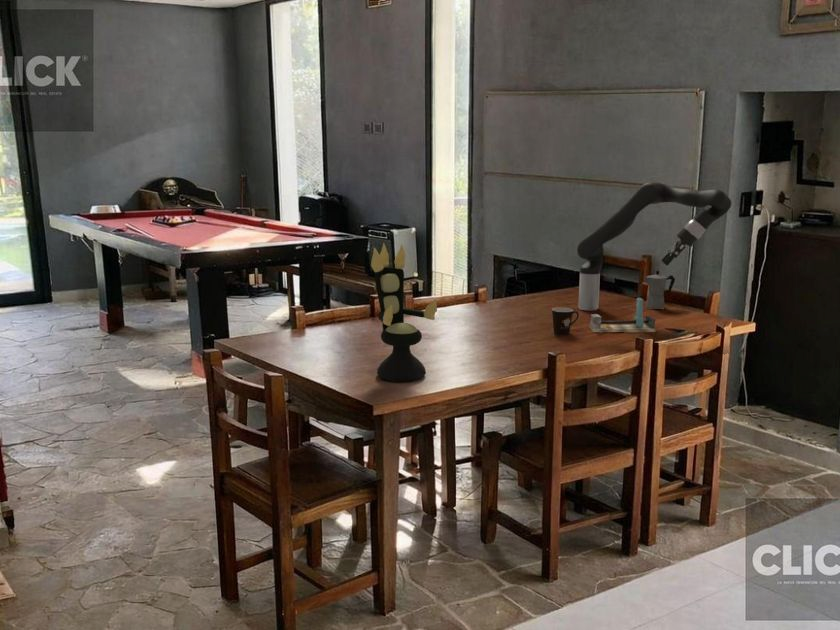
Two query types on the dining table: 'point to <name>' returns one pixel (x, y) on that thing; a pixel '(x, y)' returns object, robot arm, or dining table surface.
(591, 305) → the robot arm
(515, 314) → the dining table surface
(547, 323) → the dining table surface
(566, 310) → the coffee mug
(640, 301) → the teal upright slider
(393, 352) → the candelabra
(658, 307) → the coffeepot
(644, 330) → the cord board
